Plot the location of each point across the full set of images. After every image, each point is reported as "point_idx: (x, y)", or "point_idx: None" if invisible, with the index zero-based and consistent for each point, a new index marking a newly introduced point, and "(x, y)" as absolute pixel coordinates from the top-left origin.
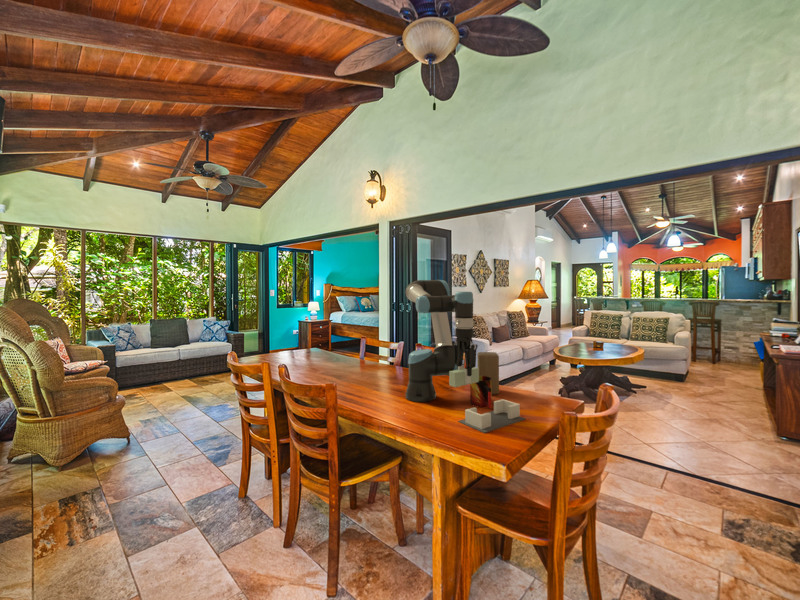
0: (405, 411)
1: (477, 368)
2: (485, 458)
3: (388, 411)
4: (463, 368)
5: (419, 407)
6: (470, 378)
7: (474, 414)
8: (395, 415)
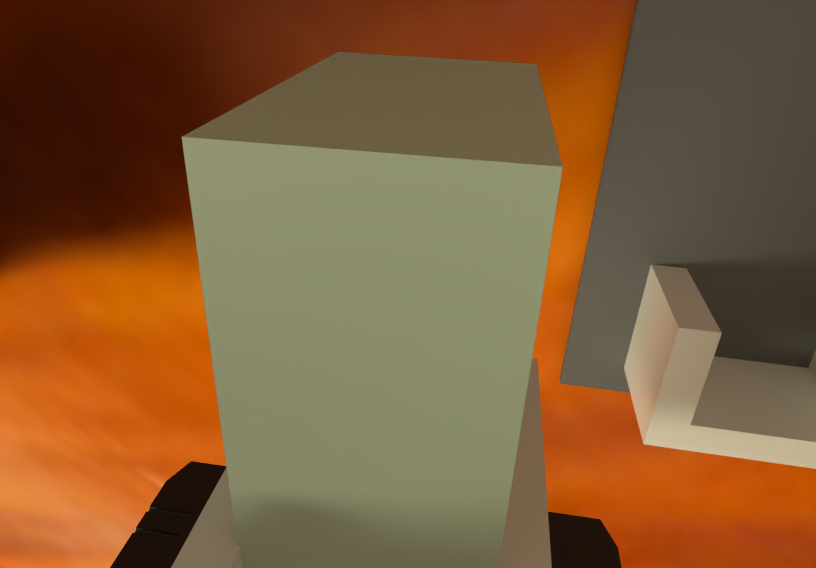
0: (138, 464)
1: (549, 247)
2: None
3: (89, 523)
4: (240, 559)
5: (104, 348)
6: (539, 428)
7: (782, 456)
8: None
